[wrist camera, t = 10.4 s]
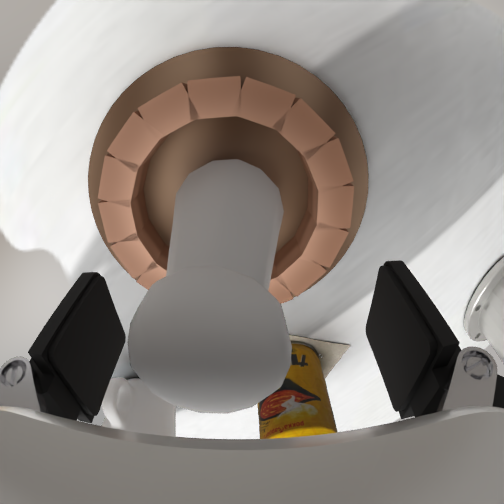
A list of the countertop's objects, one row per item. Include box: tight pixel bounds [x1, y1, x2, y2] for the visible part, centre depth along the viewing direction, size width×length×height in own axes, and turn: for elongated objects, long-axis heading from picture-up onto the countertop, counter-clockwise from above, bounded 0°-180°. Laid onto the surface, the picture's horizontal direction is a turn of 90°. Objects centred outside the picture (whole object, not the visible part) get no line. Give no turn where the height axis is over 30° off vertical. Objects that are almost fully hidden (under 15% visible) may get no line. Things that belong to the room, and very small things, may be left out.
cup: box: [101, 377, 176, 437], centre depth 25 cm, size 11×8×8 cm
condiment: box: [258, 335, 350, 439], centre depth 22 cm, size 7×8×12 cm
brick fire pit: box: [88, 47, 368, 304], centre depth 17 cm, size 18×18×4 cm
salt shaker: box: [128, 159, 292, 413], centre depth 12 cm, size 6×6×13 cm
